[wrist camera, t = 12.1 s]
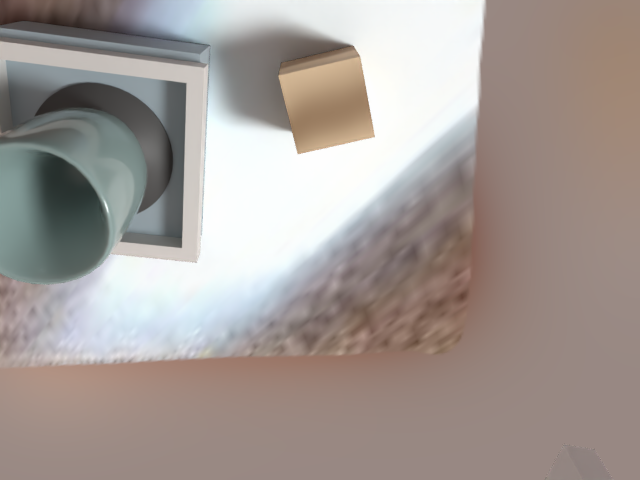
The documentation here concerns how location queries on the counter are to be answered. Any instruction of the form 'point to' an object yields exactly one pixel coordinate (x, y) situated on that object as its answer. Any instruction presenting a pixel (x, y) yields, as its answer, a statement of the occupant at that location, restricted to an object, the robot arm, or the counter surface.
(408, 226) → the counter surface
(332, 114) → the oak block
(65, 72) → the grey drawer box
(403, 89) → the counter surface
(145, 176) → the cup
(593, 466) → the robot arm
